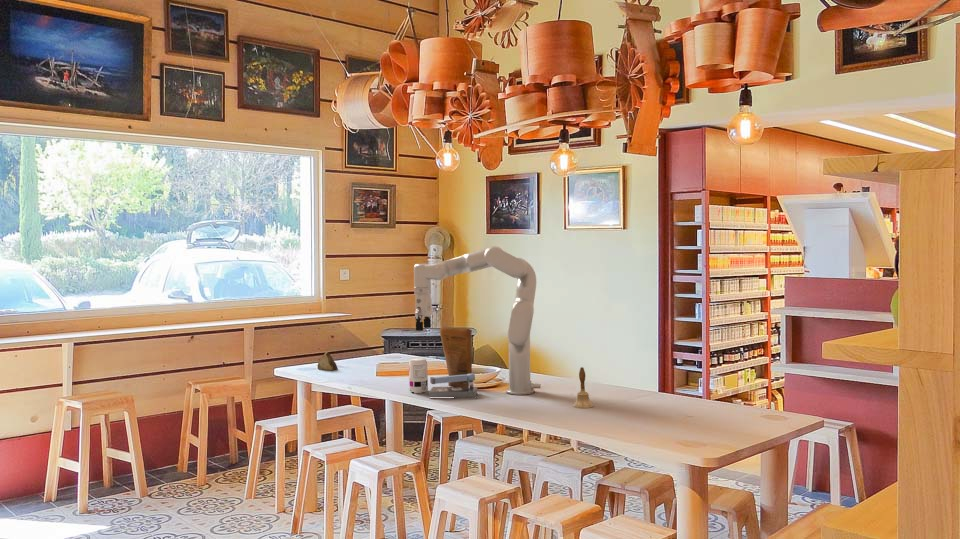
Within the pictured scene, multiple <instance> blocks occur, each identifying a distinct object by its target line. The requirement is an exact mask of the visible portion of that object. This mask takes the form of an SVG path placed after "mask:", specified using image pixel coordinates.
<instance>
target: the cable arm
mask: <svg viewBox="0 0 960 539" xmlns="http://www.w3.org/2000/svg"><path fill="white" fill-rule="evenodd" d="M467 380H468V381H473V382H474V381H476V374H475V373H472V374H467V375H466V374H465V375H454V376H449V375H445V376H435V377H433V376H431V377H430V384H431V385H437V384H447V383H449V382H460V381H467Z"/></svg>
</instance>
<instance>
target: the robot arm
mask: <svg viewBox="0 0 960 539" xmlns="http://www.w3.org/2000/svg"><path fill="white" fill-rule="evenodd" d="M489 268H494V269H496V270H498V271H500V272H502V273H503V274H505V275H507V276H509V277H512V278H514V279H517V280H516V282H517V283H516V284H517V285H516V289H515V290H516V291H515V296H514V297H515V298H514V301H513V304H512V306H511V312H510V318H509V325H508V330H507V339H508V383H509V384H508V385H509V387H508V388H506V389H505V393H506V394H509V395H515V396H518V395H519V396H522V395H523V396H524V395H530V394H533V393H534V392H535V389H541V388H542V386H541V385H542V384H541V383H533V382H532V380H531V330H532V323H533V318H534V312H535V311H534V310H535V308H534V303H535V296H536V290H537V275H536V272H535V270H534V267H533V266H532V265H531V264H530V263H529V262H528V261H527V260H526V259H524V258H522V257H516V256H514V255H513V254H510V253H509V252H507V251H505V250H503V249H502V248H501V247H499V246H496V245H495V246H489V247H486V248H483V249H479V250H475V251H471V252H469V253H465V254H463V255H460V256H458V257H457V256H456V257H454V258H450V259H447V260H442V261H439V262H437V263H431V264H429V263H415V264H414V266H413V292H414V293H413V294H414V296H415V297H414V299H415V300H414V315H415V316H414V318H415V331H416V332H417V331H419V332H420V331H421V332H422V331H424V329H425V328H426V329H427V328H428V329H431V328H432V327H431V326H432V320H431V318H432V315H433V303H432V297H431V296H432V280H433V281H441V280H443V279H447V278H448V277H449V278H450V277H453V276H456V275H460V274H465V273H466V274H469V273H474V272H477V271H480V270H484V269H489Z"/></svg>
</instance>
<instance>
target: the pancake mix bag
mask: <svg viewBox="0 0 960 539" xmlns="http://www.w3.org/2000/svg"><path fill="white" fill-rule="evenodd" d="M472 333H473V330H472V329H470V328H467V327H445V326H441V328H440V329H439V335H440V339H441V344H442V348H443V349H442V350H443V352H444V354H443V355H444V358H445V364H446V369H447V374H448V375H447V376H454V375H465V374H466V375H467V374H473V372H472V371H473V368H472V367H473V343H472V342H473V340H472V336H473V335H472ZM448 387H469V381H468V380H467V381H460V382H449V383H448Z"/></svg>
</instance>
